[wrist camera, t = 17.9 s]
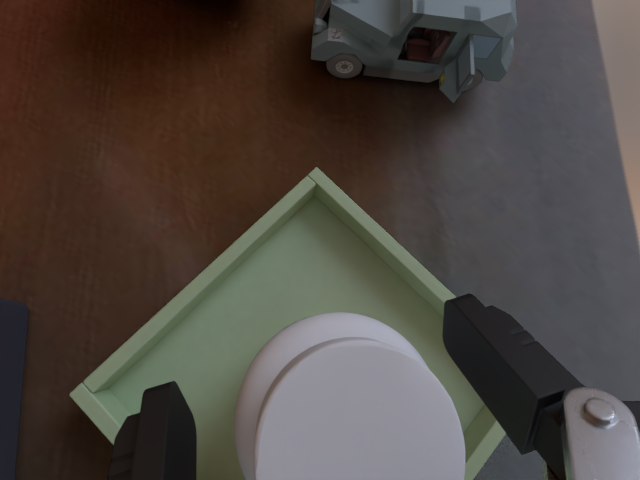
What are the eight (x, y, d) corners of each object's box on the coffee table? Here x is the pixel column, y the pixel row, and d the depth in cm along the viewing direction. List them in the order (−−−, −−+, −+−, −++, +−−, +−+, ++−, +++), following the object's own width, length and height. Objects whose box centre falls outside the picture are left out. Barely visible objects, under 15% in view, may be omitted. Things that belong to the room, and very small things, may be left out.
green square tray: (319, 638, 15) (325, 687, 13) (94, 387, 16) (67, 394, 14) (515, 374, 18) (545, 379, 16) (313, 184, 19) (316, 166, 17)
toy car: (314, 11, 22) (322, -78, 17) (483, 33, 23) (535, -47, 18) (306, 111, 20) (313, 42, 16) (488, 130, 21) (547, 71, 16)
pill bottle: (256, 464, 15) (214, 663, 6) (249, 327, 17) (206, 314, 7) (387, 446, 16) (534, 600, 7) (370, 316, 17) (474, 290, 8)
